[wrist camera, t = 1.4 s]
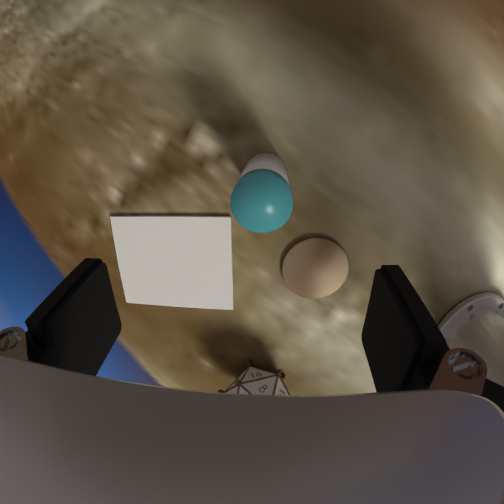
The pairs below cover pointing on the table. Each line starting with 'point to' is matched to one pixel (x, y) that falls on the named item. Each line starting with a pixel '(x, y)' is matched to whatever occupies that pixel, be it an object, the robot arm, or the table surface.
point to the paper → (175, 260)
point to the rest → (315, 268)
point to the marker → (262, 194)
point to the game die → (258, 382)
